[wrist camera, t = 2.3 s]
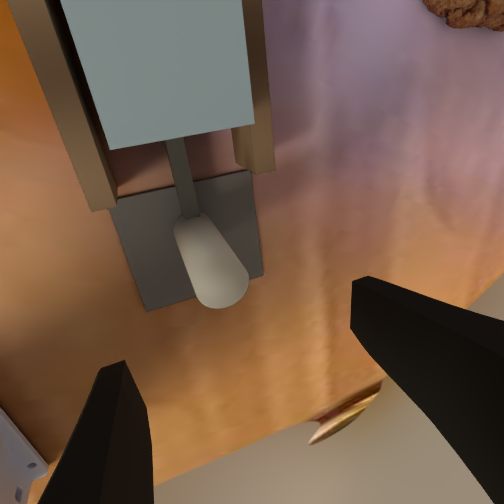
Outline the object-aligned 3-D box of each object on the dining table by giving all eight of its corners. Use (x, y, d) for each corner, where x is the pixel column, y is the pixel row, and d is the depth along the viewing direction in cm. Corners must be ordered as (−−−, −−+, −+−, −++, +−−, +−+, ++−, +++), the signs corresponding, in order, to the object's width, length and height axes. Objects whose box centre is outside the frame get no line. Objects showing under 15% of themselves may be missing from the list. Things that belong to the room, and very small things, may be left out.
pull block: (238, 235, 19) (282, 288, 14) (153, 259, 17) (166, 327, 12) (198, -16, 13) (249, -85, 8) (67, -9, 12) (27, -84, 7)
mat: (262, 273, 21) (263, 275, 21) (146, 310, 19) (146, 312, 19) (249, 169, 17) (250, 169, 17) (106, 200, 16) (106, 201, 15)
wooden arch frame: (253, 159, 17) (275, 170, 15) (96, 192, 15) (91, 212, 13) (225, -76, 13) (251, -117, 10) (-5, -74, 11) (-44, -125, 8)
